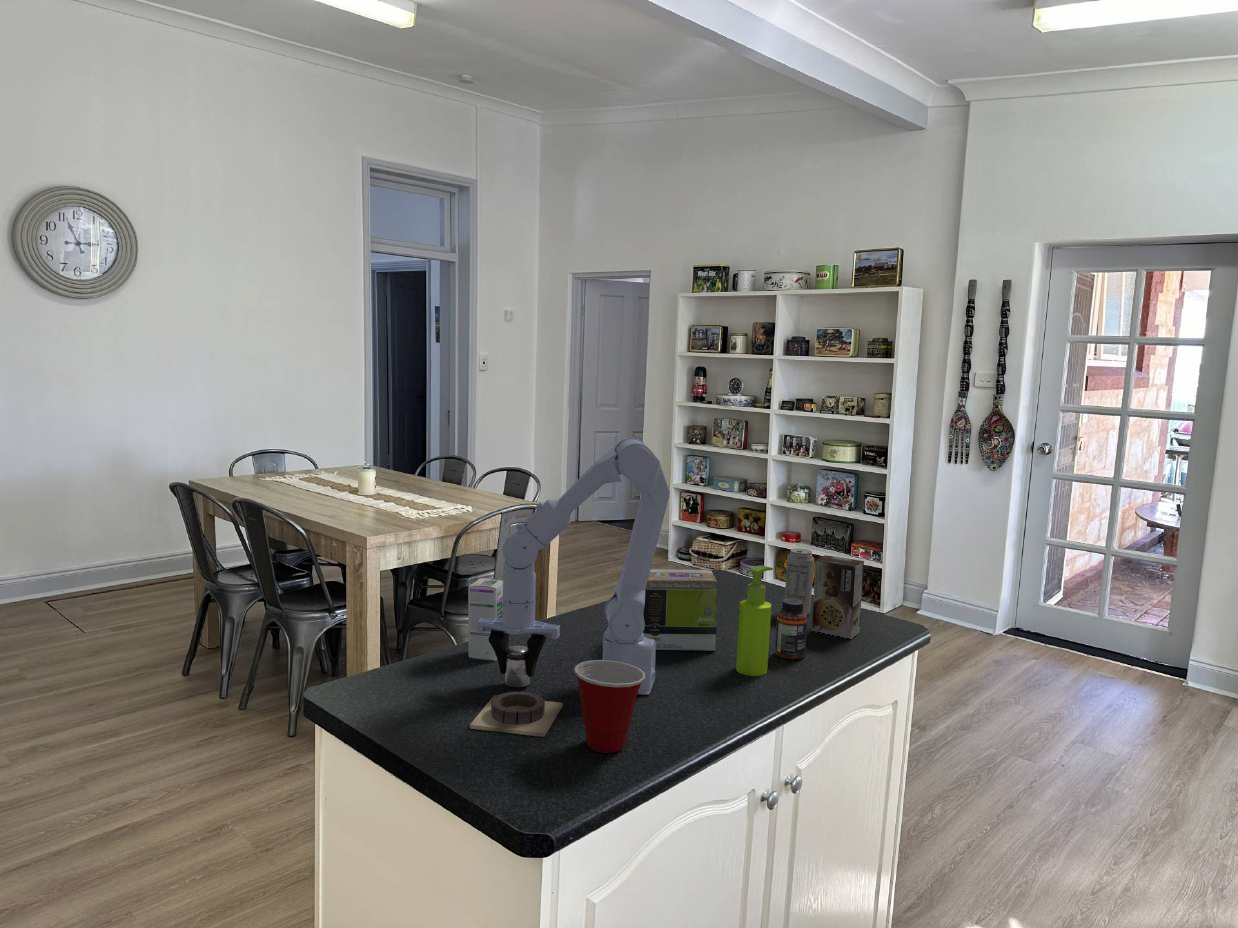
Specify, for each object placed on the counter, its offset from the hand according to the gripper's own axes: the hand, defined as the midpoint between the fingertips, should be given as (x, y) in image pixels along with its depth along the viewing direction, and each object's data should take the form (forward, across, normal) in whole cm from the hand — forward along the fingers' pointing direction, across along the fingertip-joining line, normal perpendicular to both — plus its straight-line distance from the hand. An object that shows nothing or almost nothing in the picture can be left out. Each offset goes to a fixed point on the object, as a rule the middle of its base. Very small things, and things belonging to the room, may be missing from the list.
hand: (517, 673), depth 156 cm
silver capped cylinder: (+2, 0, 0) cm, 2 cm away
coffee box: (+2, +58, +47) cm, 75 cm away
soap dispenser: (+2, +41, +19) cm, 45 cm away
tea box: (+2, +25, +30) cm, 39 cm away
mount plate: (+2, +4, -13) cm, 14 cm away
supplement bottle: (+2, +48, +29) cm, 56 cm away
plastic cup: (+2, +20, -19) cm, 28 cm away
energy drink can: (+2, +50, +58) cm, 77 cm away
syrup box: (+2, -10, +13) cm, 17 cm away
